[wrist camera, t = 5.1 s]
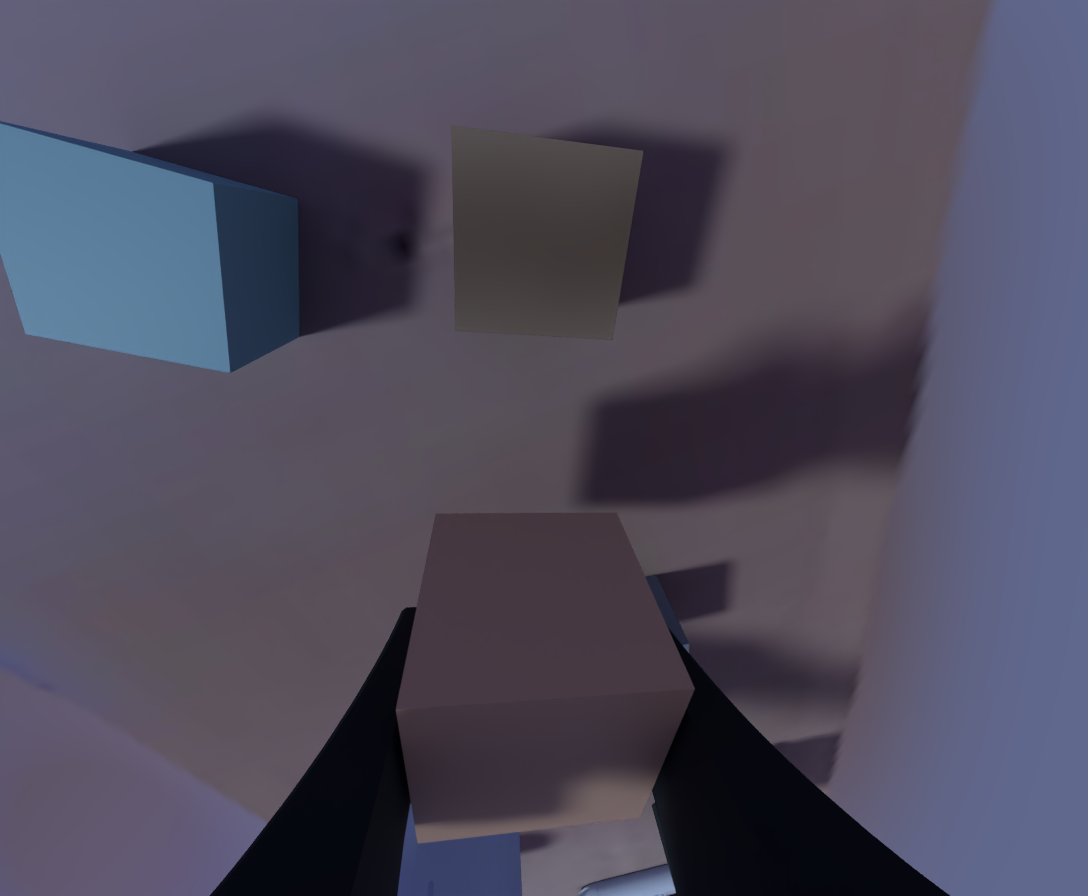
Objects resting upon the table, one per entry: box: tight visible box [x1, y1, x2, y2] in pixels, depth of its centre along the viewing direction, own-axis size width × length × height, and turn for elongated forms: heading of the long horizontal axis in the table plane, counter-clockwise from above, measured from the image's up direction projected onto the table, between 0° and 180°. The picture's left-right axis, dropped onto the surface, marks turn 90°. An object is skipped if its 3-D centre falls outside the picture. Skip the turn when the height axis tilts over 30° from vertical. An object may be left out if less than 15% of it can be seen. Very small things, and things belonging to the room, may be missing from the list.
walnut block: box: [452, 126, 643, 340], centre depth 11 cm, size 4×4×4 cm
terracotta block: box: [396, 513, 695, 844], centre depth 10 cm, size 5×5×5 cm
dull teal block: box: [0, 121, 300, 373], centre depth 10 cm, size 4×4×4 cm
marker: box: [578, 864, 676, 896], centre depth 40 cm, size 18×2×2 cm, turn 104°
